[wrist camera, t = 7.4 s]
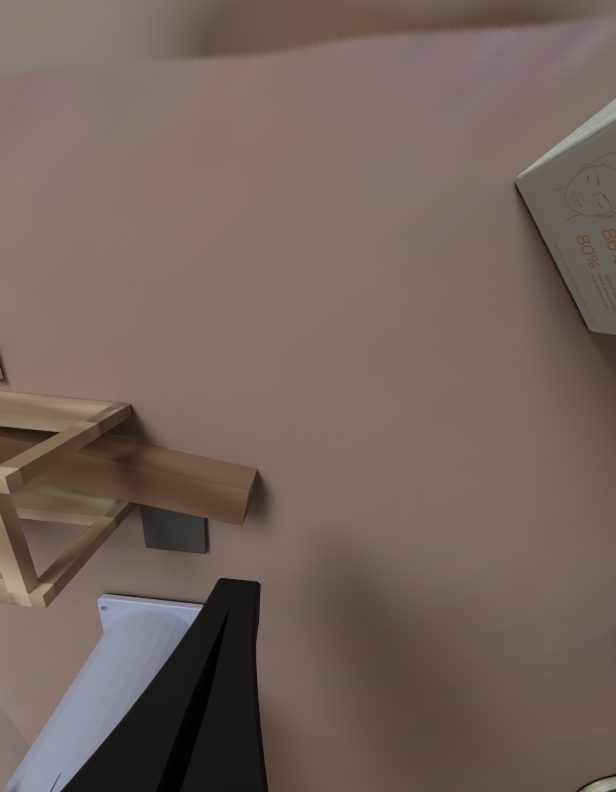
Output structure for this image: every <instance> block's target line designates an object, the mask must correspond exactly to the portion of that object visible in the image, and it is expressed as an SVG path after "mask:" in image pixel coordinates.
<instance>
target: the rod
mask: <svg viewBox="0 0 616 792" xmlns="http://www.w3.org/2000/svg"><path fill="white" fill-rule="evenodd" d="M58 433H60V432H54V431H44V430H34V429H24V428H14V427H4V426H0V464H2V463H4V462H6V461H8V460H10V459H12V458H14V457H15V456H17V455H19V454H21V453H23V452H25V451H27V450H29V449H30V448H32V447H34V446H36V445H38V444H40V443H42V442H44V441H45V440H47V439H49V438H51V437H53V436H55V435H57V434H58ZM256 473H257V469H255V468H250V467H246V466H241V465H237V464H232V463H228V462H223V461H219V460H214V459H210V458H205V457H201V456H196V455H192V454H187V453H183V452H178V451H174V450H169V449H165V448H160V447H156V446H151V445H147V444H142V443H138V442H133V441H129V440H124V439H120V438H115V437H111V436H106V435H101V436H99V437H98V438H96V439H95V440H93V441H92V442H90V443H89V444H87V445H85V446H84V447H82V448H81V449H79V450H78V451H76V452H75V453H73V454H72V455H70V456H68V457H67V458H65V459H64V460H62V461H61V462H59V463H58V464H56V465H54V466H53V467H51V468H50V469H48V470H47V471H45V472H44V473H42V474H41V475H39V476H37V477H36V478H34V479H33V480H32V481H36V482H41V483H45V484H50V485H55V486H59V487H64V488H69V489H73V490H78V491H83V492H87V493H92V494H97V495H101V496H106V497H111V498H115V499H120V500H125V501H129V502H134V503H139V504H143V505H148V506H153V507H157V508H162V509H167V510H171V511H176V512H181V513H185V514H190V515H195V516H199V517H204V518H209V519H213V520H218V521H223V522H227V523H232V524H237V525H241V526H242V525H243V523H244V520H245V517H246V514H247V511H248V508H249V505H250V502H251V498H252V493H253V488H254V483H255V478H256Z"/></svg>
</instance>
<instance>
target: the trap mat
mask: <svg viewBox="0 0 616 792" xmlns="http://www.w3.org/2000/svg"><path fill="white" fill-rule="evenodd" d="M140 507H141V514H142V522H143V529H144V536H145V544H146V548H154V549H163V550H173V551H182V552H192V553H201V554H206V552H207V535H206V518H204V517H199V516H195V515H190V514H185V513H181V512H176V511H171V510H167V509H162V508H157V507H153V506H148V505H143V504H140Z"/></svg>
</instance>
